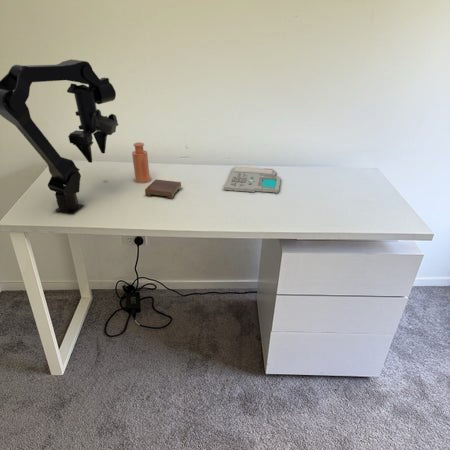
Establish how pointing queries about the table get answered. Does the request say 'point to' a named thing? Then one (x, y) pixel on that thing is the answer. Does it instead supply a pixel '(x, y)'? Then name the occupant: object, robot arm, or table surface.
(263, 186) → the office telephone
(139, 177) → the vase
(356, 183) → the table surface
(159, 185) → the stand
